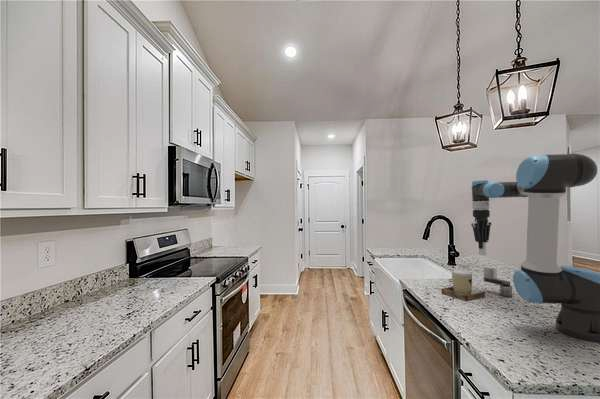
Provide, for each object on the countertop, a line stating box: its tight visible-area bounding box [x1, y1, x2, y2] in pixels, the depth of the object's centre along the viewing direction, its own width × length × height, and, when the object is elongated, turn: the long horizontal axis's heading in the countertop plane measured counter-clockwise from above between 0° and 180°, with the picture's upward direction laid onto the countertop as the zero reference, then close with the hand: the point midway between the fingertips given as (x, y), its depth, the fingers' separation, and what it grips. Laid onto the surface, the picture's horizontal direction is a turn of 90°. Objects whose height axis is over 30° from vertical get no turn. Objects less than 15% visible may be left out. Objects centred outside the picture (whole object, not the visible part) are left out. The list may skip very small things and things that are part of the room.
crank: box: [483, 266, 511, 286], centre depth 150 cm, size 12×4×7 cm, turn 28°
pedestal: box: [499, 285, 513, 298], centre depth 146 cm, size 5×5×5 cm
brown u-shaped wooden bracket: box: [441, 285, 486, 302], centre depth 149 cm, size 14×14×2 cm
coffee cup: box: [451, 269, 473, 295], centre depth 149 cm, size 9×9×12 cm
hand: (482, 254), depth 151 cm, fingers closed
